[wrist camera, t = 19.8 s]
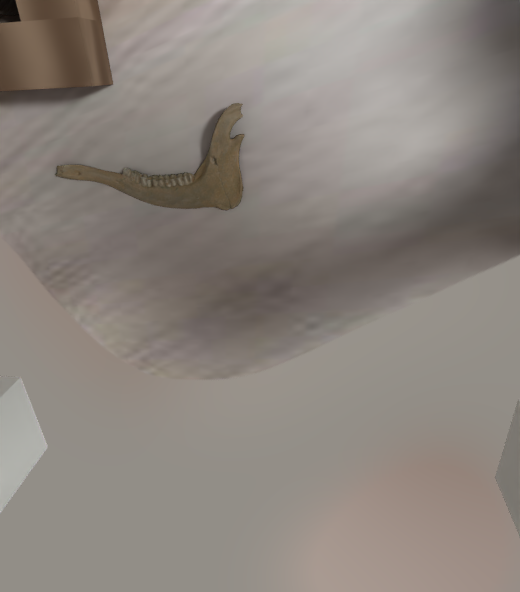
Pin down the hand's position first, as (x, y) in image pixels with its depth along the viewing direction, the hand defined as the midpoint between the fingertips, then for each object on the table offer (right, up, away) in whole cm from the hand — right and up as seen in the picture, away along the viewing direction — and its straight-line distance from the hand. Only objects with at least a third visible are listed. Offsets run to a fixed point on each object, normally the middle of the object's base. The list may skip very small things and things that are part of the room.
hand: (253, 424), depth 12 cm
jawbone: (-10, +18, +30) cm, 37 cm away
